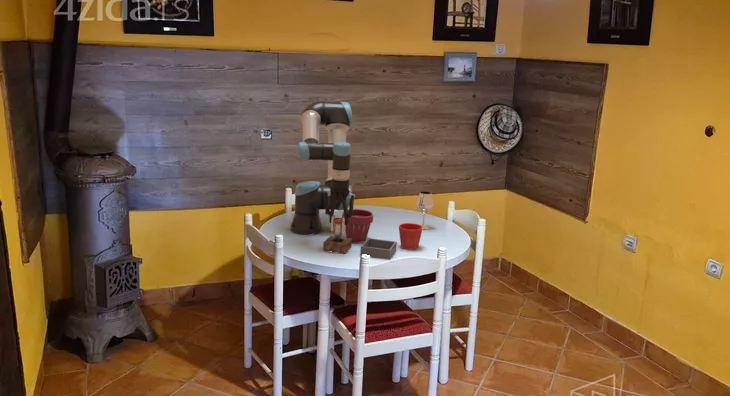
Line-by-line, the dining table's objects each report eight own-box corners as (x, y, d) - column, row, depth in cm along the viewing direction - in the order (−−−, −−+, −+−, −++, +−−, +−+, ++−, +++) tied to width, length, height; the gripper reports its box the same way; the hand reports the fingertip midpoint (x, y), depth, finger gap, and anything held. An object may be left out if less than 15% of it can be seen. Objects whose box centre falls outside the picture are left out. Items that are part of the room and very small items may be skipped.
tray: (360, 255, 260) (360, 246, 259) (367, 246, 272) (368, 238, 271) (389, 259, 257) (390, 250, 256) (396, 250, 269) (396, 241, 268)
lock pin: (331, 244, 265) (332, 219, 262) (334, 241, 269) (335, 217, 266) (341, 245, 264) (342, 221, 261) (344, 242, 268) (345, 218, 265)
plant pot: (376, 237, 285) (377, 211, 282) (365, 245, 273) (366, 218, 270) (348, 232, 291) (349, 207, 288) (336, 240, 278) (337, 213, 275)
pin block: (323, 250, 263) (323, 242, 262) (330, 244, 272) (330, 235, 271) (345, 253, 261) (345, 245, 260) (351, 247, 270) (352, 238, 269)
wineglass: (430, 230, 301) (433, 195, 297) (413, 228, 303) (416, 193, 298) (431, 226, 309) (434, 191, 305) (415, 224, 310) (418, 190, 306)
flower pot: (392, 245, 275) (393, 225, 272) (408, 241, 282) (409, 221, 280) (409, 252, 268) (411, 231, 265) (426, 247, 275) (427, 226, 273)
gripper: (318, 178, 258) (316, 230, 263) (357, 182, 254) (355, 236, 259) (323, 174, 265) (322, 226, 270) (362, 179, 261) (359, 231, 266)
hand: (338, 230), depth 265 cm, fingers closed on lock pin, 4 cm apart
